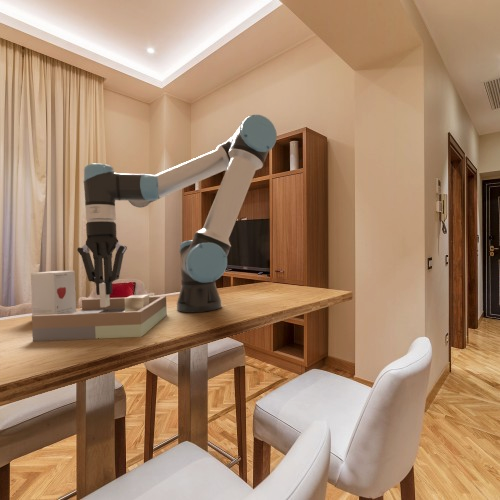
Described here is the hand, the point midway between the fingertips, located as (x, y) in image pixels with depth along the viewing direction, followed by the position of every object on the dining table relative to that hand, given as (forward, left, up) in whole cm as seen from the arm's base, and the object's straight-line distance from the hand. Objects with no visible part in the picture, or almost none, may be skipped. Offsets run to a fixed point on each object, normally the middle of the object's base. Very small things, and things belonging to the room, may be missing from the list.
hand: (105, 306), depth 87 cm
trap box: (-1, 0, -6) cm, 6 cm away
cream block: (-9, 0, -3) cm, 9 cm away
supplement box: (+23, -15, -6) cm, 28 cm away
